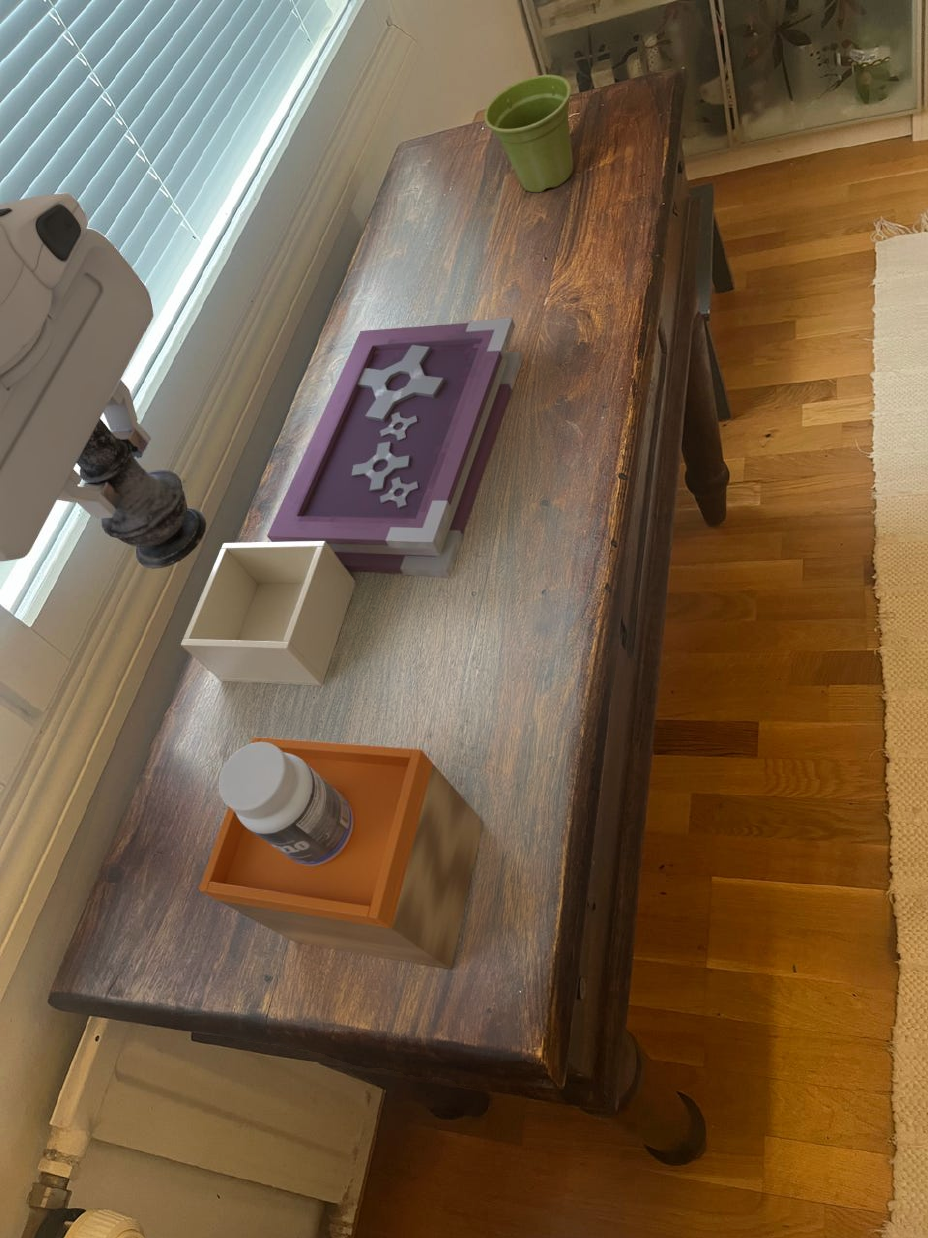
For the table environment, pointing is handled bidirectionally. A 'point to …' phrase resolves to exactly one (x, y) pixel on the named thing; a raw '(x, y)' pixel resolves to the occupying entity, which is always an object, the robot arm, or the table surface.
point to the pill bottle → (286, 803)
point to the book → (403, 447)
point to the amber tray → (370, 862)
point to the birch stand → (406, 892)
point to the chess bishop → (142, 502)
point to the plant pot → (535, 130)
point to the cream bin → (271, 612)
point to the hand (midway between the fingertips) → (124, 478)
